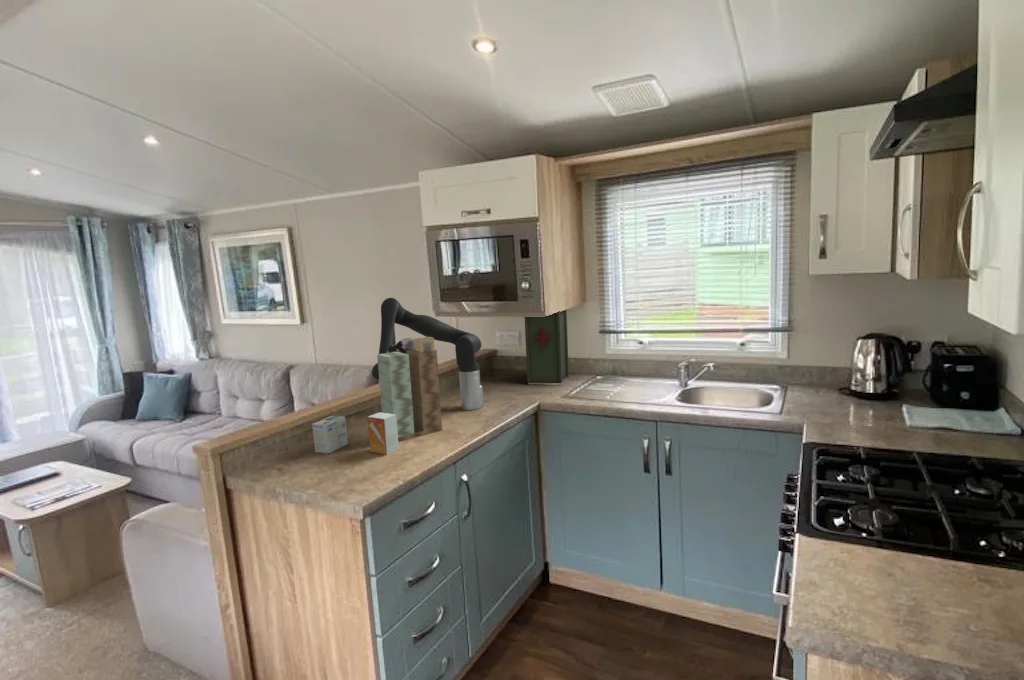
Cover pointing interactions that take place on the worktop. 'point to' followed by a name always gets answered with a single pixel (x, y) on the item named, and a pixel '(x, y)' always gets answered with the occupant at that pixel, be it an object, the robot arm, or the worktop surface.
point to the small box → (383, 433)
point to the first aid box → (547, 348)
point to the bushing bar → (419, 344)
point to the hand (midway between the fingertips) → (410, 341)
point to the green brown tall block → (411, 391)
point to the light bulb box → (330, 434)
